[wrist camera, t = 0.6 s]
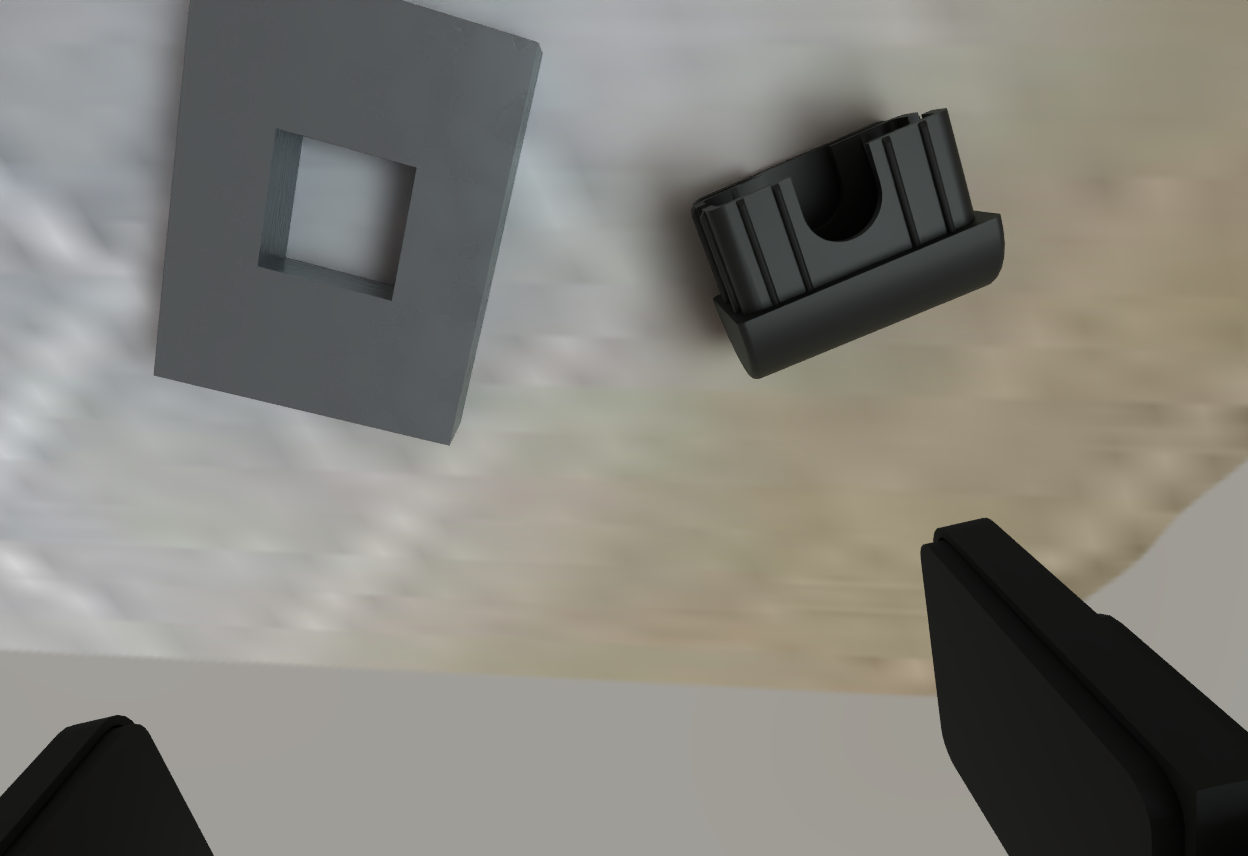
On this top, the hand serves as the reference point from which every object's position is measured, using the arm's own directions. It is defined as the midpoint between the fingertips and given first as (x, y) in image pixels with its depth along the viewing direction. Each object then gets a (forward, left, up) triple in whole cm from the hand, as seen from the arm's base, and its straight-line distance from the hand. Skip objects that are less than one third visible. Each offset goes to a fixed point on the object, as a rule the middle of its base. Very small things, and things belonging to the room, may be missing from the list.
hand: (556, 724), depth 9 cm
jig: (-2, -10, -27) cm, 29 cm away
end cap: (-6, +9, -27) cm, 29 cm away
